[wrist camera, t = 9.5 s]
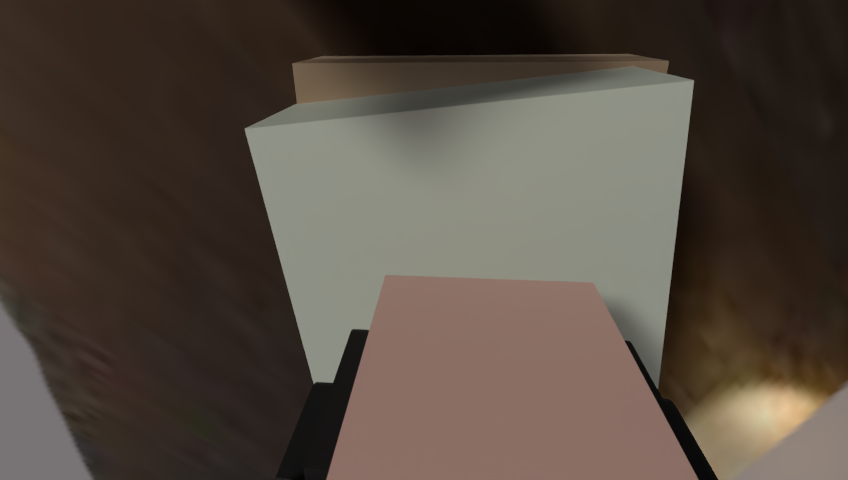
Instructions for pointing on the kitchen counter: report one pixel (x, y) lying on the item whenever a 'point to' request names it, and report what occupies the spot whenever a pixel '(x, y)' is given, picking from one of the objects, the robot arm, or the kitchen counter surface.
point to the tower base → (440, 72)
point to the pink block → (500, 388)
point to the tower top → (479, 195)
